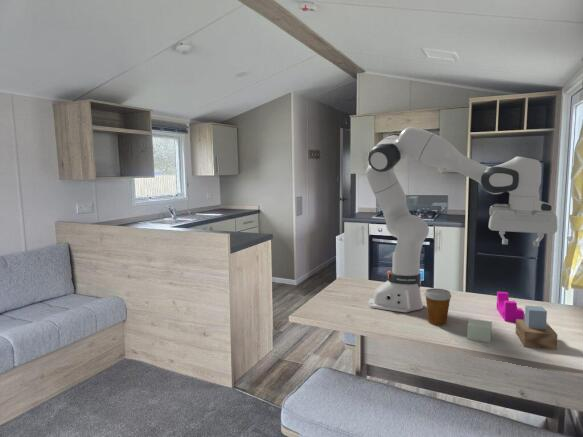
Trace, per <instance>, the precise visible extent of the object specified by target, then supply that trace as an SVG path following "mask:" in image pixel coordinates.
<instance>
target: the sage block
mask: <svg viewBox="0 0 583 437" xmlns="http://www.w3.org/2000/svg"><path fill="white" fill-rule="evenodd" d="M492 324H493V322H492V321H488V320H484V319H483V320H482V319H474V318H469V320H468V323H467V328H466V329H467V330H466V331H467V332H466V333H467V335H466V339H467V340H473V341H477V342H484V343H489V344H490V343H491V340H492V328H493V327H492V326H493V325H492Z"/></svg>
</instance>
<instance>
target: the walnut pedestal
mask: <svg viewBox="0 0 583 437" xmlns="http://www.w3.org/2000/svg"><path fill="white" fill-rule="evenodd" d="M515 335H516V336H517V338H518V339H519V341H520V343H521V344H522V346H523V347H525V348H530V349H531V348H532V349H533V348H534V349H543V350H553V351H557V350H558V348H557V346H558V334H557V332H556V331H555V330H554V329H553V328H552V327H551V325H550V324H549V323H548V322H547V321H546V329H534V328H528V327H527V325H526V324H525V319H524V320H521V319H516V322H515Z"/></svg>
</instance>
